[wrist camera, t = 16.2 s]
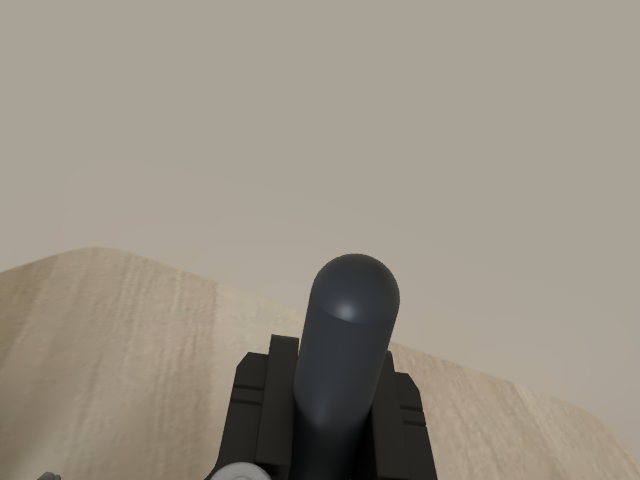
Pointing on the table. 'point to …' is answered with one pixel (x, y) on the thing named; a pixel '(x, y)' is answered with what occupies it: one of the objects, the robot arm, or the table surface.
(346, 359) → the dark grey peg
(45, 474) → the electronic device
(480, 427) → the table surface
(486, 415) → the table surface
